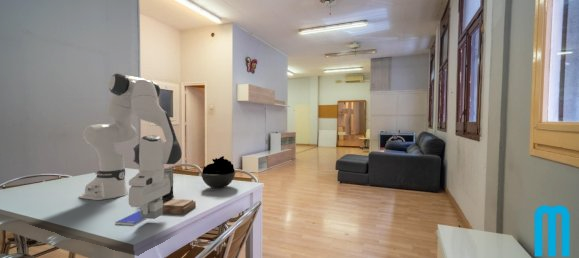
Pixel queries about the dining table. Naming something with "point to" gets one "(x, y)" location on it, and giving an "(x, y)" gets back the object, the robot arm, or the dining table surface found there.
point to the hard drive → (131, 219)
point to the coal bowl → (218, 173)
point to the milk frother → (170, 175)
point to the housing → (153, 209)
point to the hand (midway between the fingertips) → (151, 210)
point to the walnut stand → (178, 206)
